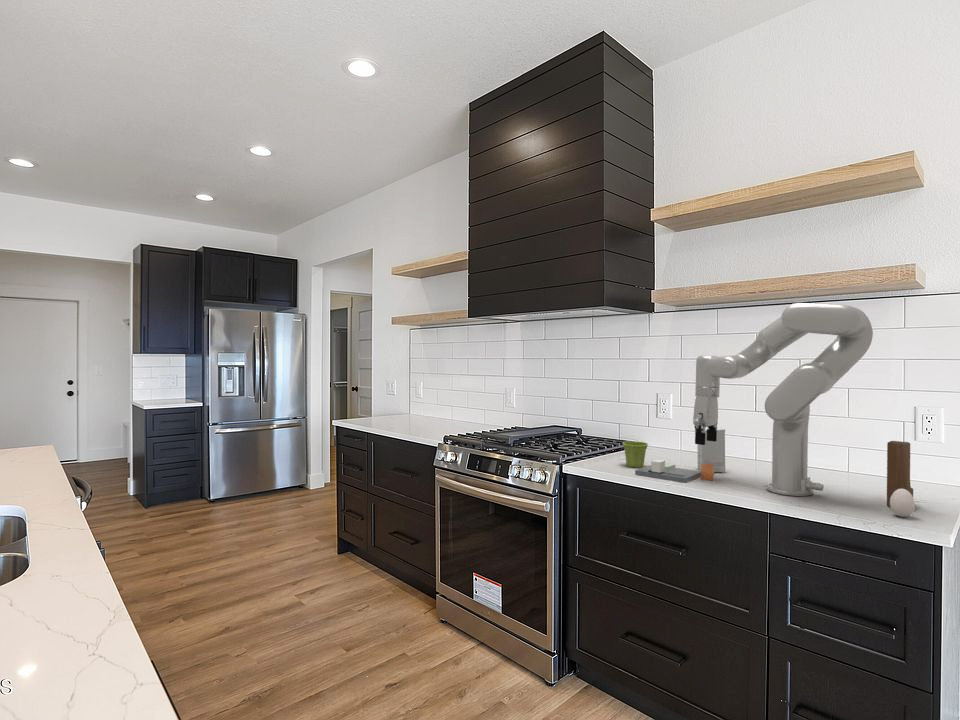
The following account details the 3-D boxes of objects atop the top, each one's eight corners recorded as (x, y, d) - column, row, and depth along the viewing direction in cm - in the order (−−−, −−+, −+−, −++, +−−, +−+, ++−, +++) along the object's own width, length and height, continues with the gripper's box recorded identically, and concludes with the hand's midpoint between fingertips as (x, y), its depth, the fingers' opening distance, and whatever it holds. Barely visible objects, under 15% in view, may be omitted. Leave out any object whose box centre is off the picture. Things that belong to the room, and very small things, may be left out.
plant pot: (653, 467, 208) (653, 444, 208) (632, 469, 205) (632, 446, 205) (637, 463, 217) (637, 440, 217) (617, 465, 214) (617, 442, 213)
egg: (891, 518, 146) (891, 489, 145) (888, 512, 150) (888, 485, 150) (916, 521, 143) (916, 492, 143) (913, 515, 148) (913, 487, 147)
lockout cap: (715, 479, 190) (715, 464, 190) (710, 481, 187) (711, 466, 187) (703, 477, 193) (703, 462, 193) (699, 479, 190) (699, 464, 190)
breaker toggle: (664, 470, 194) (665, 460, 194) (659, 472, 191) (659, 462, 191) (656, 469, 196) (656, 459, 196) (651, 471, 193) (651, 461, 193)
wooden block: (894, 500, 162) (894, 438, 162) (913, 504, 159) (914, 440, 158) (886, 506, 156) (887, 442, 156) (906, 510, 153) (907, 444, 152)
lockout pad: (675, 467, 202) (675, 464, 202) (667, 469, 197) (667, 467, 197) (659, 465, 206) (659, 462, 206) (651, 467, 202) (651, 464, 202)
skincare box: (720, 469, 205) (720, 426, 205) (726, 473, 199) (726, 429, 198) (696, 469, 206) (696, 426, 206) (701, 472, 200) (701, 429, 199)
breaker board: (702, 475, 195) (702, 469, 194) (685, 482, 184) (685, 476, 184) (653, 468, 207) (653, 462, 207) (635, 474, 197) (635, 468, 197)
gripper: (706, 390, 198) (704, 438, 199) (685, 392, 186) (684, 444, 186) (728, 391, 193) (726, 441, 194) (708, 394, 181) (706, 447, 181)
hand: (705, 442), depth 190 cm, fingers open, 9 cm apart
